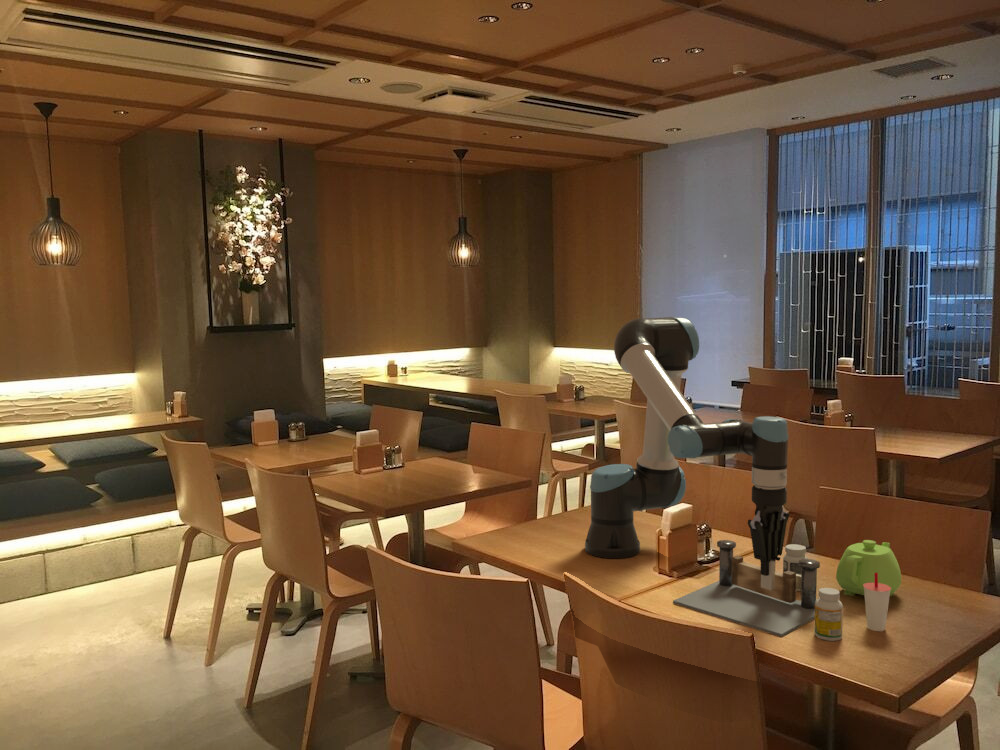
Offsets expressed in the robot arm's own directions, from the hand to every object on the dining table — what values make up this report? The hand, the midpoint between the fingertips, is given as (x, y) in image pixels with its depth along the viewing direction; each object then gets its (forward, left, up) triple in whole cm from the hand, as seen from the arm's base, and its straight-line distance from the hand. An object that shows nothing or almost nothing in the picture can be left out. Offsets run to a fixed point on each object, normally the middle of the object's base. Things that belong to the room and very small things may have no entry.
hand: (767, 588), depth 190 cm
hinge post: (-13, +3, -4) cm, 14 cm away
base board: (-2, -5, -4) cm, 6 cm away
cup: (+23, +3, -4) cm, 24 cm away
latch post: (+7, +3, -4) cm, 9 cm away
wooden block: (-2, +2, -2) cm, 4 cm away
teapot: (+13, +22, -4) cm, 26 cm away
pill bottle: (-1, +14, -4) cm, 15 cm away
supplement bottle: (+18, -8, -4) cm, 20 cm away
